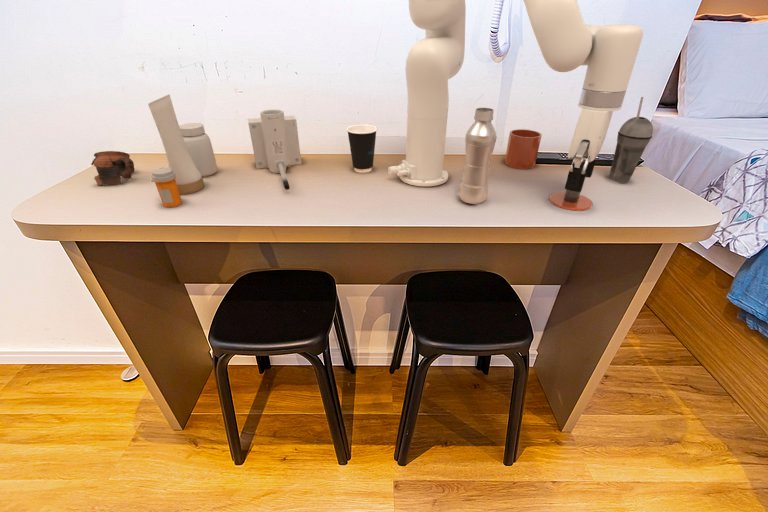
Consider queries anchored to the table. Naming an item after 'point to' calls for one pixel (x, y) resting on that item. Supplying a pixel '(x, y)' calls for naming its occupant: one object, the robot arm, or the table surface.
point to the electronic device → (275, 142)
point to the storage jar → (522, 148)
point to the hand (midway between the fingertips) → (578, 182)
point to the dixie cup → (362, 146)
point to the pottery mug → (112, 167)
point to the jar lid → (571, 200)
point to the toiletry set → (180, 154)
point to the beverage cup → (630, 147)
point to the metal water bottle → (478, 157)
